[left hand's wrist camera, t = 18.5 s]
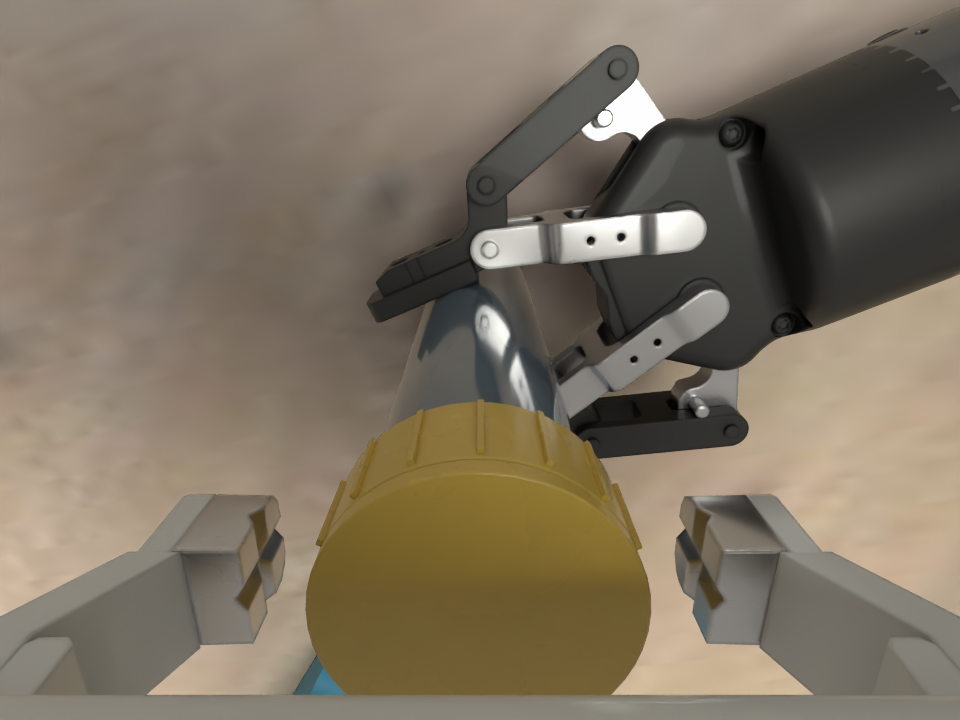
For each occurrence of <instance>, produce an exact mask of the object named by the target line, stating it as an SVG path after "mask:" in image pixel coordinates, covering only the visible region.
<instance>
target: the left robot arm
mask: <svg viewBox="0 0 960 720" xmlns="http://www.w3.org/2000/svg"><path fill="white" fill-rule="evenodd" d="M280 517H281V516H280V510H279V505H278V500H277V499H276V498H275V497H274V496H269V495H221V494H219V495H215V494H191V495H187V496H184V497H183V498H182V499H181V500H180V501H179V503H178V504H177V505H176V506H175V507H174V509H173V510H172V511H171V512H170V513H169V515H168V516H167V517H166V518H165V519H164V521H163V522H162V523H161V524H160V525H159V527H158V528H157V529H156V530H155V531H154V533H153V534H152V535H151V536H150V537H149V539H148V540H147V541H146V542H145V543H144V545H143V546H142V547H141V548H140V549H139V551H138V552H127V553H125V554H123V555H121V556H119V557H117V558H115V559H113V560H111V561H109V562H107V563H105V564H103V565H101V566H99V567H97V568H95V569H93V570H91V571H89V572H87V573H86V574H84V575H82V576H80V577H78V578H76V579H74V580H72V581H70V582H68V583H66V584H64V585H62V586H60V587H58V588H56V589H54V590H52V591H50V592H48V593H46V594H44V595H42V596H40V597H38V598H36V599H34V600H32V601H30V602H28V603H26V604H24V605H22V606H20V607H18V608H16V609H14V610H12V611H10V612H9V613H7V614H5V615H3V616H1V617H0V720H960V617H959V616H957V615H955V614H953V613H951V612H949V611H947V610H945V609H943V608H941V607H939V606H937V605H935V604H933V603H931V602H929V601H928V600H926V599H924V598H922V597H920V596H918V595H916V594H914V593H912V592H910V591H908V590H906V589H904V588H902V587H900V586H898V585H896V584H894V583H892V582H890V581H888V580H886V579H884V578H882V577H880V576H878V575H876V574H874V573H872V572H870V571H868V570H866V569H865V568H863V567H861V566H859V565H857V564H855V563H853V562H851V561H849V560H847V559H845V558H843V557H841V556H839V555H837V554H835V553H833V552H822V551H821V549H820V548H819V547H818V546H817V545H816V543H815V542H814V541H813V540H812V539H811V537H810V536H809V535H808V534H807V533H806V531H805V530H804V529H803V528H802V527H801V526H800V524H799V523H798V522H797V521H796V520H795V518H794V517H793V516H792V515H791V514H790V512H789V511H788V510H787V509H786V508H785V506H784V505H783V504H782V503H781V502H780V500H779V499H778V498H777V497H776V496H774V495H771V494H753V495H731V496H685V497H684V499H683V501H682V504H681V509H680V516H679V517H680V519H681V521H682V523H683V525H684V527H685V529H684V530H683V532H682V533H681V534H680V535H679V536H678V537H677V538H676V546H675V564H676V572H677V576H678V580H679V583H680V585H681V588H682V590H683V592H684V593H685V594H686V595H688V596H689V597H690V598H692V599H693V600H694V605H693V615H694V617H695V619H696V621H697V623H698V626H699V628H700V630H701V632H702V634H703V636H704V639H705V641H706V643H707V644H741V645H760V647H759V648H761V649H762V650H763V651H764V652H765V653H766V654H768V655H769V656H770V657H771V658H772V659H773V660H775V661H776V662H777V663H778V664H779V665H780V666H781V667H783V668H784V669H785V670H786V671H787V672H788V673H790V674H791V675H792V676H793V677H794V678H795V679H797V680H798V681H799V682H800V683H801V684H802V685H803V686H805V687H806V688H807V689H808V690H809V691H810V692H812V693H813V694H814V695H146V694H147V693H149V692H150V691H151V690H152V689H153V688H154V687H156V686H157V685H158V684H159V683H160V682H161V681H163V680H164V679H165V678H166V677H167V676H168V675H170V674H171V673H172V672H173V671H174V670H175V669H176V668H178V667H179V666H180V665H181V664H182V663H183V662H185V661H186V660H187V659H188V658H189V657H190V656H192V655H193V654H194V653H195V652H196V651H197V650H199V649H200V645H219V644H253V643H254V641H255V639H256V637H257V634H258V632H259V630H260V628H261V626H262V623H263V621H264V619H265V617H266V615H267V605H266V600H267V599H268V598H270V597H271V596H272V595H274V594H275V593H276V592H277V590H278V587H279V585H280V583H281V580H282V576H283V571H284V566H285V545H284V538H283V537H282V536H281V535H280V534H279V533H278V532H277V530H276V529H275V527H276V525H277V523H278V521H279V519H280Z"/></svg>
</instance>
